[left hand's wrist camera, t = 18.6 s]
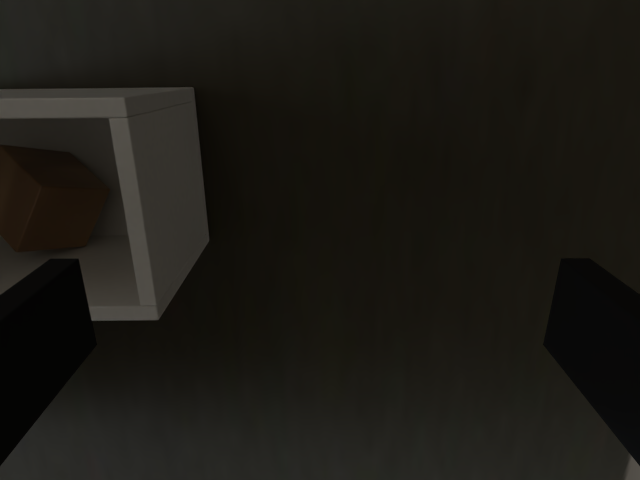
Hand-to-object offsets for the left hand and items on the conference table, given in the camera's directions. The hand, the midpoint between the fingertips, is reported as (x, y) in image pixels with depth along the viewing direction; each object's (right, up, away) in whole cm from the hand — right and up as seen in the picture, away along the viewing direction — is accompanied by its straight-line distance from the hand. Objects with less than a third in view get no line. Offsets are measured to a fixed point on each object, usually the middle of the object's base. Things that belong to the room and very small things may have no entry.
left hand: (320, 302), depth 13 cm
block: (-14, +3, +12) cm, 19 cm away
